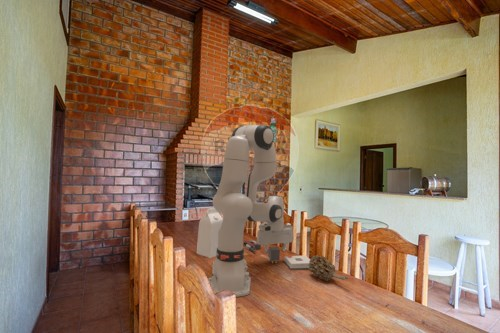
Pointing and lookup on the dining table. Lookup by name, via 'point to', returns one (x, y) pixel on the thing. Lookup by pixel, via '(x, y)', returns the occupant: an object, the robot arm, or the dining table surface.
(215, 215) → the milk
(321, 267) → the pine cone
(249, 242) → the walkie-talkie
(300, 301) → the dining table surface
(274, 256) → the plug
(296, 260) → the socket
